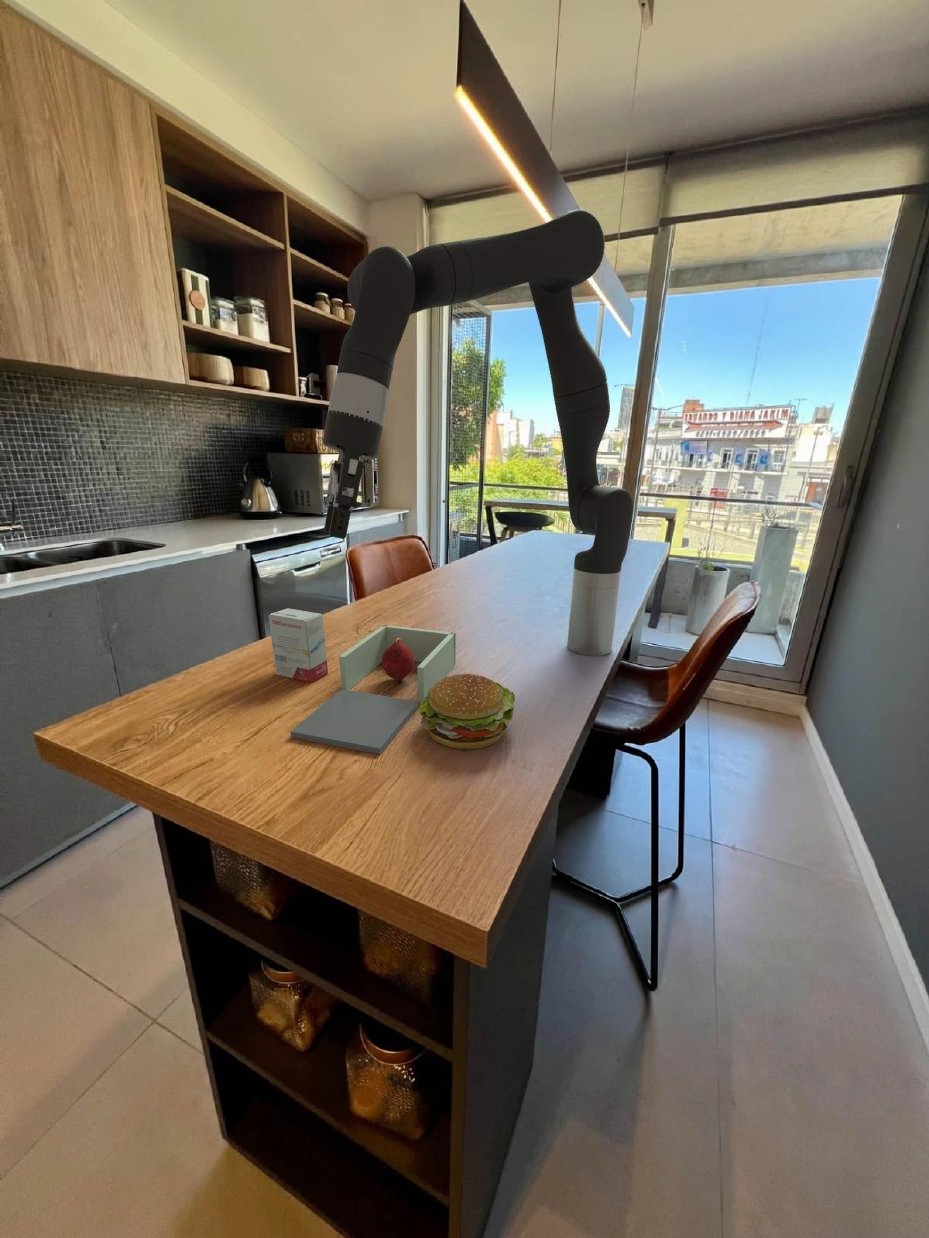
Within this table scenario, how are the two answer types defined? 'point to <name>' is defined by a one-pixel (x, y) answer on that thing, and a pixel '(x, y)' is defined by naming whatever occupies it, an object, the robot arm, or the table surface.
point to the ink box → (298, 644)
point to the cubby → (424, 644)
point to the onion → (398, 660)
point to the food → (467, 711)
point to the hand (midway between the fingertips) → (334, 534)
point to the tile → (356, 721)
